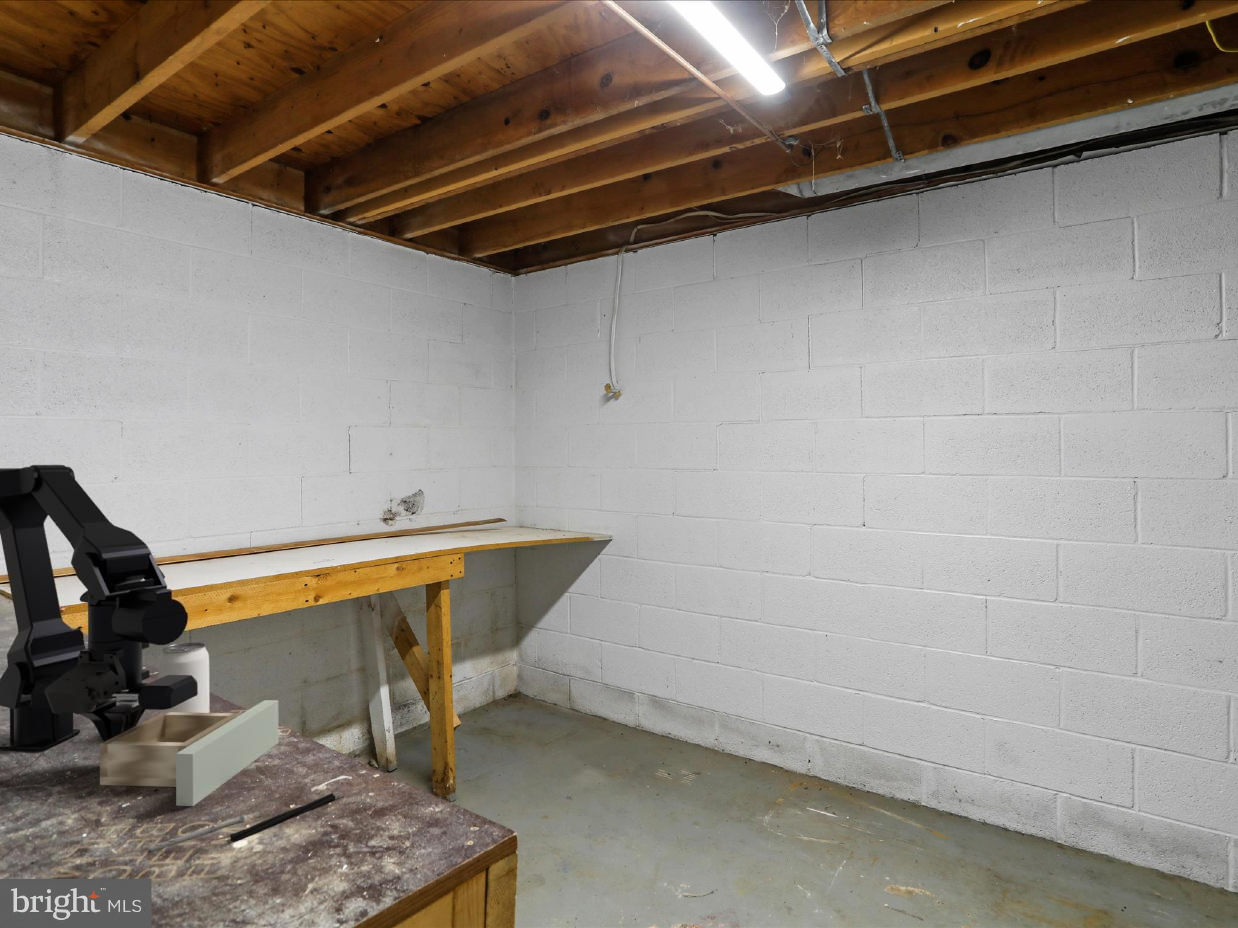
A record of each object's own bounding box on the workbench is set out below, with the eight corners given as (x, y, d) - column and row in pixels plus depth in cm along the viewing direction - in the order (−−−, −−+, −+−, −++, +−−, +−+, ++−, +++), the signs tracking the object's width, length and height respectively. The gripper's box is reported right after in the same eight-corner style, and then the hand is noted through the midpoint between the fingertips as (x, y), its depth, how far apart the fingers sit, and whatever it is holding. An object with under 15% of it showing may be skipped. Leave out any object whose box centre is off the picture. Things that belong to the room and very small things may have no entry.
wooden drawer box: (99, 784, 85) (99, 744, 85) (163, 747, 96) (163, 711, 96) (186, 786, 85) (186, 745, 85) (240, 749, 96) (240, 713, 96)
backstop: (176, 805, 80) (176, 753, 80) (264, 742, 98) (264, 699, 98) (193, 805, 80) (192, 753, 80) (278, 742, 98) (278, 700, 98)
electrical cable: (337, 797, 83) (337, 788, 83) (342, 800, 82) (342, 791, 82) (229, 841, 73) (229, 832, 73) (234, 845, 72) (234, 835, 72)
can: (185, 737, 100) (184, 653, 100) (147, 733, 101) (146, 651, 101) (219, 720, 107) (219, 642, 106) (183, 717, 108) (183, 640, 108)
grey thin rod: (244, 824, 77) (244, 815, 77) (151, 856, 71) (151, 846, 71) (241, 821, 77) (241, 812, 77) (149, 852, 71) (149, 842, 71)
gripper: (-12, 653, 83) (-11, 783, 83) (137, 654, 82) (138, 786, 82) (67, 630, 95) (68, 745, 95) (199, 631, 93) (200, 748, 93)
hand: (116, 756), depth 91 cm, fingers closed
